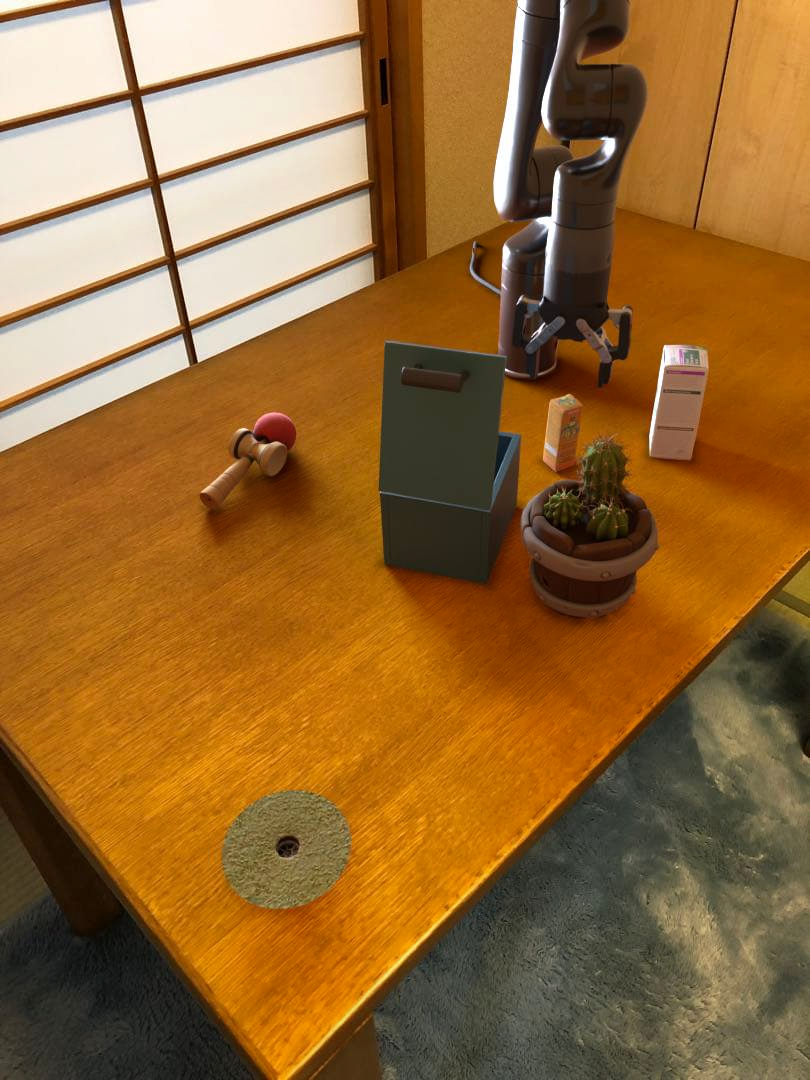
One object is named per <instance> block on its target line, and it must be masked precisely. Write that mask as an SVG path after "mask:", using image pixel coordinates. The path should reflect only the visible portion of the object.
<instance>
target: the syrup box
mask: <svg viewBox="0 0 810 1080" xmlns="http://www.w3.org/2000/svg"><path fill="white" fill-rule="evenodd" d="M659 367H660V368H659V372H658V373H659V374H658V379H657V386H656V393H655V398H654V404H653V409H652V410H653V411H652V417H651V423H650V429H649V457H651V458H656V459H666V460H679V461H691V459H692V457H693V451H694V448H695V442H696V438H697V434H698V428H699V422H700V419H701V418H700V417H701V412H702V407H703V402H704V396H705V391H706V387H707V381H708V375H709V370H710V367H709V355H708V348H707V347H705V346H699V345H698V346H697V345H690V344H664V346H663V350H662V357H661V361H660V366H659Z"/></svg>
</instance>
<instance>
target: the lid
mask: <svg viewBox="0 0 810 1080" xmlns="http://www.w3.org/2000/svg"><path fill="white" fill-rule="evenodd" d="M383 347H384V348H383V371H382V372H383V373H382V398H381V419H380V421H381V423H380V424H381V425H380V443H379V444H380V446H379V468H378V471H379V472H378V473H379V474H378V492H381V491H382V492H387V493H393V494H399V495H404V496H410V497H416V498H421V499H427V500H433V501H438V502H444V503H449V504H455V505H461V506H466V507H472V508H478V509H483V510H490V509H491V503H492V493H493V484H494V474H495V465H496V455H497V446H498V436H499V431H500V426H501V425H500V424H501V414H502V406H503V398H504V387H505V377H506V375H505V369H506V359H507V356H502V355H498V354H493V353H487V352H479V351H471V350H463V349H457V348H456V349H454V348H447V347H439V346H434V345H433V346H432V345H425V344H417V343H416V344H415V343H410V342H401V341H394V340H386V341H384V346H383Z"/></svg>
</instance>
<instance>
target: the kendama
mask: <svg viewBox="0 0 810 1080" xmlns="http://www.w3.org/2000/svg"><path fill="white" fill-rule="evenodd" d="M296 440H297V428H296V425H295V423H294V422H293V420H292V419H290V417H288V416H287V415H285V414H283V413H280V412H268V413H265V414H264V415H262V416H260V417H259V418H258V420H257V421H256V422H255V424H254V427H253V431H252V430H250V429H248V428H244V427H242V428H239V429H237V430H236V431H235V432H234V433H233V435H232V436H231V438H230V440H229V443H228V446H227V447H228V449H227V450H228V451H227V452H228V454H229V456H230V457H232V458H233V459H235V460H237V461H236V462H234V463H233V464H232V465H230V466H229V467H228V468H227V469H226V470H224V472H222V474H220V475H219V476H218V477H217V478H216V479H214V480H213V482H211V483H210V484H209V485H208V486H207V487H206V488H204V489H203V490H202V491H201V492H200V493H199V499H200V501H201V502H202V504H203V505H204V506H205V507H207V508H208V509H211V510H213V511H217V510H218V509H219V508H220V506H221V505H222V504H223V502H224V501H225V500H226V499H227V498H228V496H229V495H230V494H231V492H232V491H233V490H235V489H234V488H235V487H236V486H237V485H238V484H239V483H240V481H241V480H242V479H243V478H244V476H245V475H246V473H247V472H248V471H249V469H250V468H251V466H252V465H253V463H254V462H256V463H257V464H258V467H259V469H260V472H261V473H262V474H263V475H266V476H268V477H274V476H276V475H278V473H279V472H281V470H282V469H283V467H284V465H285V463H286V460H287V457H288V452H289V451H290V450H291V449H292V448H293V447H294V446H295V444H296Z"/></svg>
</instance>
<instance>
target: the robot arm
mask: <svg viewBox="0 0 810 1080" xmlns="http://www.w3.org/2000/svg"><path fill="white" fill-rule="evenodd" d="M630 16H631V0H517V2H516V10H515V19H514V20H515V21H514V30H513V43H512V53H511V54H512V55H511V67H510V74H509V75H510V76H509V84H508V91H507V92H508V93H507V100H506V107H505V112H504V119H503V122H502V123H503V124H502V128H501V134H500V138H499V143H498V148H497V149H498V150H497V154H496V161H495V166H494V172H493V173H494V174H493V201H494V205H495V209H496V212H497V214H498V216H499V217H500V218H501V219H502V220H503V221H506V222H509V223H519V222H528V221H530V223H529V224H528V225H526V226H525V227H524V228H523V229H521V230H520V231H518V232H517V233H515V234H513V235H512V236H510V237H509V238H508V239H506V241H505V242H504V244H503V246H502V254H501V255H502V256H501V260H502V261H501V280H500V289H499V288H497V287H496V286H494V285H493V284H491V283H490V282H488V281H486V280H485V279H483V278H482V277H481V276H480V275H478V274H477V273H476V271H475V265H476V260H477V252H476V253H475V254H474V253H473V252H472V254H471V260H470V264H469V272H470V274H471V276H472V277H473V278H474V280H476V281H477V282H478V283H480V284H482V285H483V286H485V287H486V288H488V289H490V290H491V291H493V292H494V293H496V294H498V295H499V296H500V307H499V325H498V328H499V329H498V350H497V355H502V356H507V359H506V369H505V376H508V377H511V378H513V379H517V380H534V381H535V380H538V379H542V378H545V377H548V376H550V375H551V374H553V373H554V372H555V370H556V369H557V354H558V347H559V343H560V340H561V341H567V340H571V341H573V342H576V343H583V342H584V341H587V343H588V344H589V345H590V347H591V349H592V350H593V351H595V352H596V354H597V355H598V356H599V358H600V361H599V367H598V375H597V383H596V389H603V388H604V385H608V384H609V383H610V380H611V376H612V372H613V365H614V364H613V363H614V361H617V360H619V361H625V360H627V359H628V357H629V353H630V349H631V343H632V327H633V315H634V308H633V307H632V306H631V305H624V306H623V308H610V306H609V303H608V296H609V295H608V294H609V288H610V287H609V286H610V279H611V272H612V271H611V270H612V263H613V256H614V255H613V253H614V248H615V247H614V246H615V222H616V221H615V219H616V212H617V204H618V203H617V202H618V195H619V188H620V182H621V177H622V174H623V171H624V167H625V164H626V161H627V159H628V156H629V152H630V151H631V148H632V145H633V143H634V141H635V138H636V137H637V134H638V132H639V128H640V127H641V124H642V121H643V119H644V115H645V113H646V109H647V105H648V100H649V87H648V82H647V79H646V76H645V74H644V72H643V70H641V69H640V67H639V66H637V65H635V64H633V63H628V62H627V63H624V62H623V63H621V62H620V63H590V64H589V63H587V64H582V62H583V61H585V60H587V59H588V58H591V57H595V56H598V55H602V54H605V53H608V52H610V51H612V50H614V49H616V48H617V47H619V46H620V45H622V43H623V42H624V41H625V39H626V38H627V36H628V33H629V29H630V22H631V21H630V19H631V17H630ZM542 125H543V126H544V128H545V129H546V131H547V133H548V134H549V136H551V137H552V138H553V139H555V140H558V141H602V140H603V142H602V143H601V145H600V146H599V147H598V148H597V149H596V150H595V151H594V152H592V153H589V154H587V155H584V156H580V157H576V158H575V156H574V154H573V153H572V150H570V149H569V148H568V147H567V146H565V145H560V144H555V145H545V146H539V147H535V146H536V143H537V139H538V136H539V134H540V133H539V132H540V130H541V127H542ZM473 248H474V249H476V248H477V249H478V241H476V240H475V241H474V242H473V245H472V249H473ZM608 320H610V321H612V324H613V327H614V328H615V329H618V340H617V341H618V343H617V345H613V344H612V342H611V340H610V339H609V337H608V333H607V331H606V330H605V328H604V327H603V325H605V324H606V323H607V321H608Z"/></svg>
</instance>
